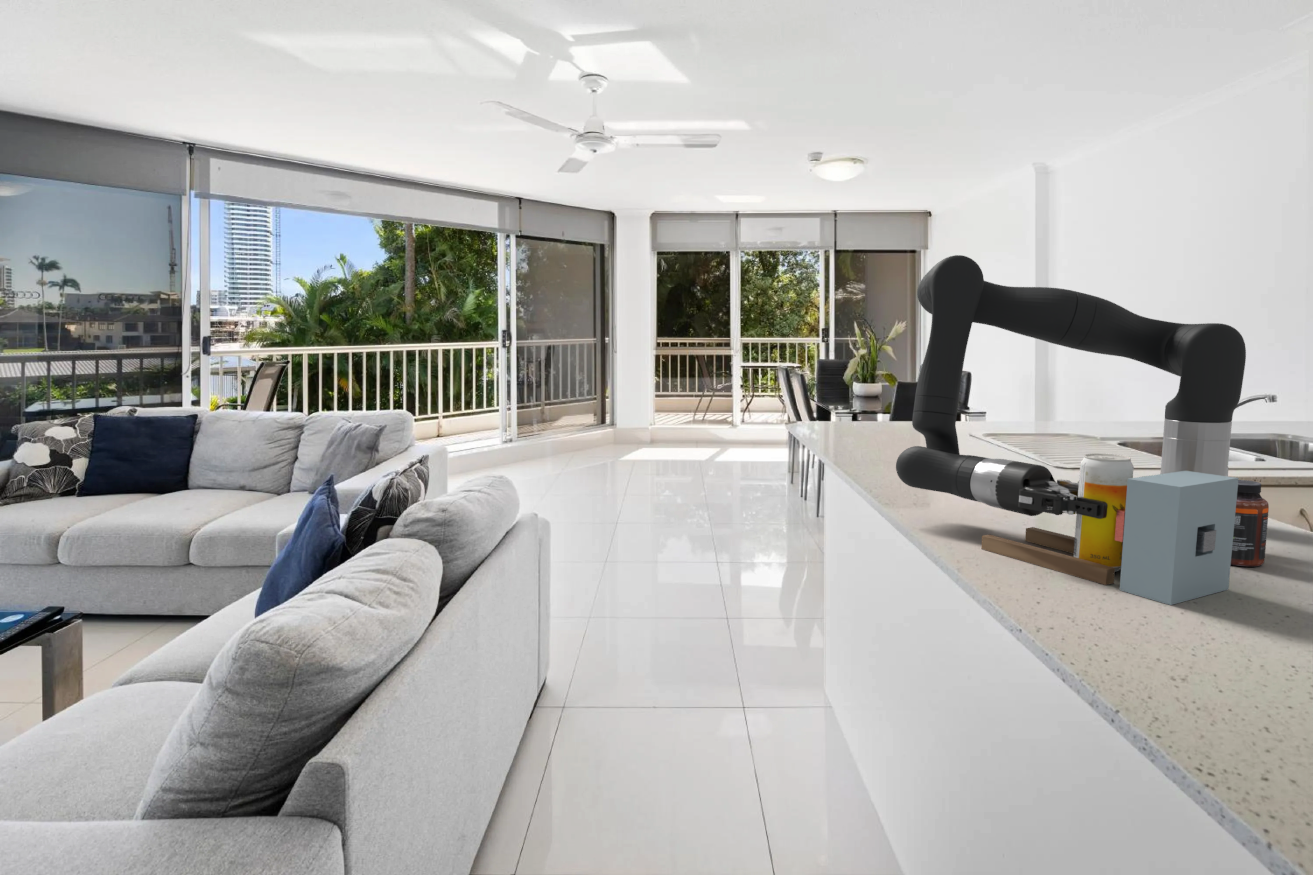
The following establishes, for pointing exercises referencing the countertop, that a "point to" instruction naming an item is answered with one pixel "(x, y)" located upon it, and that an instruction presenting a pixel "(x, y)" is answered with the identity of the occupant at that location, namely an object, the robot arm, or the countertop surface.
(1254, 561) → the supplement bottle
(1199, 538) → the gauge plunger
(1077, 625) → the countertop surface
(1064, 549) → the rail track
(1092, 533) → the beer can
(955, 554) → the countertop surface
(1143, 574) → the end cabinet
